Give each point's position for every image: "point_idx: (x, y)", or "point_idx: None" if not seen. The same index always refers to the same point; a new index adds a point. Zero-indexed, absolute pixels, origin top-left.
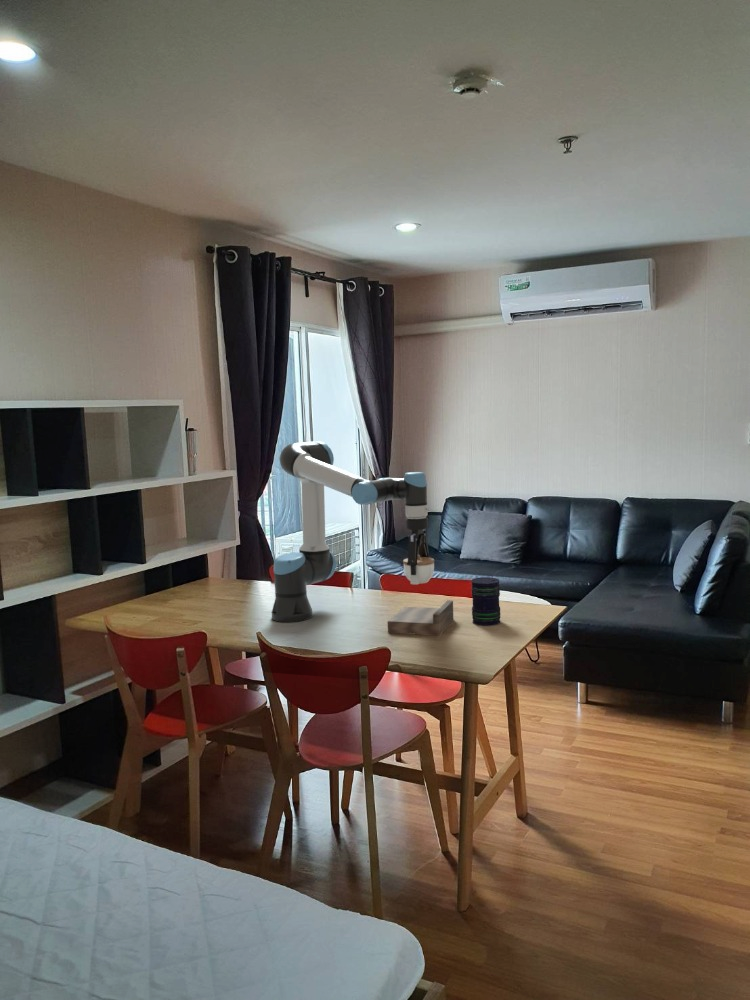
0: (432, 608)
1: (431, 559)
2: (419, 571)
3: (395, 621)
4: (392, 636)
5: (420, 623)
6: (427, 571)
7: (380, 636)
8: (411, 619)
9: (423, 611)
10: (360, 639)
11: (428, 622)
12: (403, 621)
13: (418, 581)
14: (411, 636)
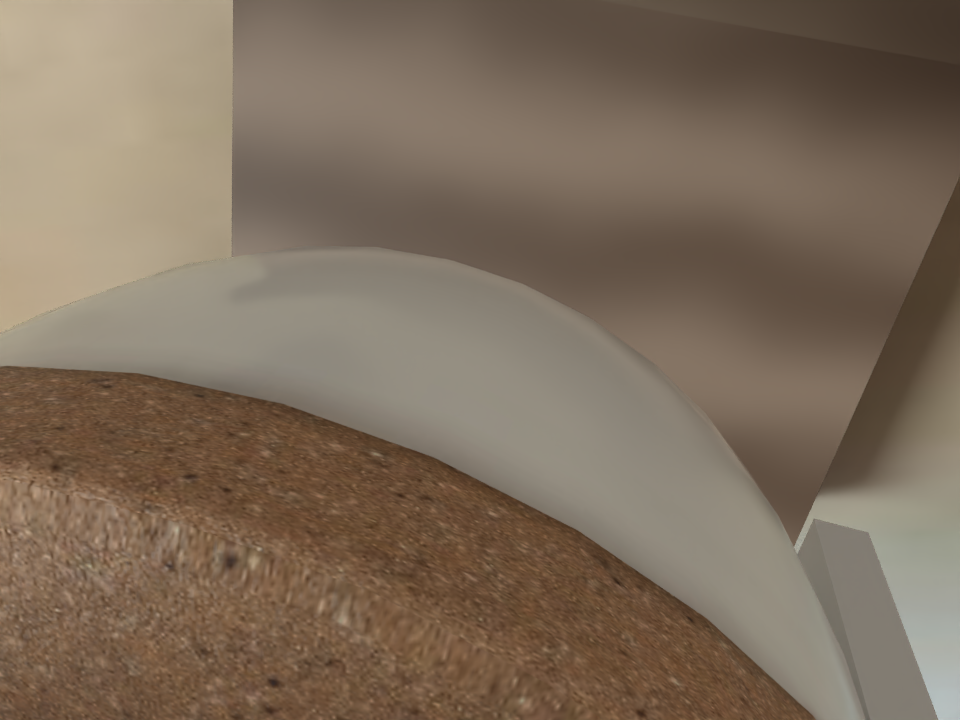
0: (255, 139)
1: (60, 638)
2: None
3: (810, 504)
4: (903, 465)
5: (928, 242)
6: (761, 500)
7: (881, 554)
8: (746, 352)
9: (395, 236)
10: (944, 686)
11: (936, 142)
12: (824, 430)
13: (851, 569)
14: (943, 298)
